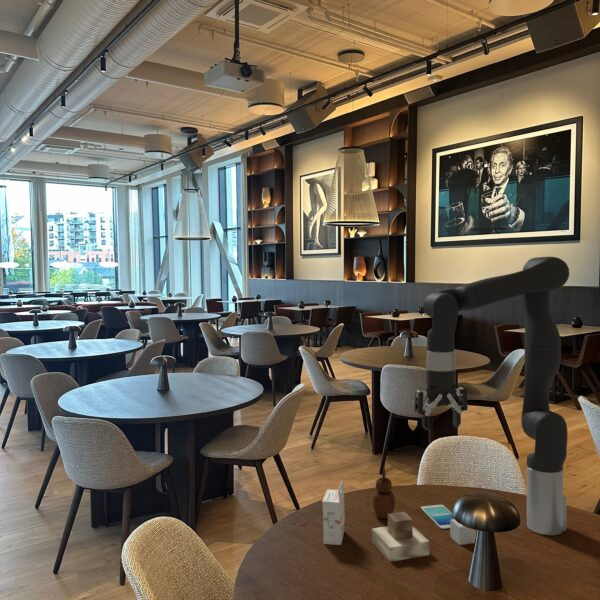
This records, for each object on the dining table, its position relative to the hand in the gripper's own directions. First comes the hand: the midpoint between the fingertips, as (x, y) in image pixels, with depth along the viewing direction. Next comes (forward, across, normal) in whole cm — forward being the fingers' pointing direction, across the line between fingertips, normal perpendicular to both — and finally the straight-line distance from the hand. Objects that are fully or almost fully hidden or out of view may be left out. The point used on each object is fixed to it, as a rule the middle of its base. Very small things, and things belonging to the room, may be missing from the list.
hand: (441, 427), depth 146 cm
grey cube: (+30, -5, +2) cm, 31 cm away
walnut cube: (+27, +13, +2) cm, 30 cm away
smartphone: (+31, -6, -12) cm, 34 cm away
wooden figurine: (+30, +10, -17) cm, 36 cm away
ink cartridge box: (+30, +28, -8) cm, 42 cm away
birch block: (+31, +13, +2) cm, 33 cm away
